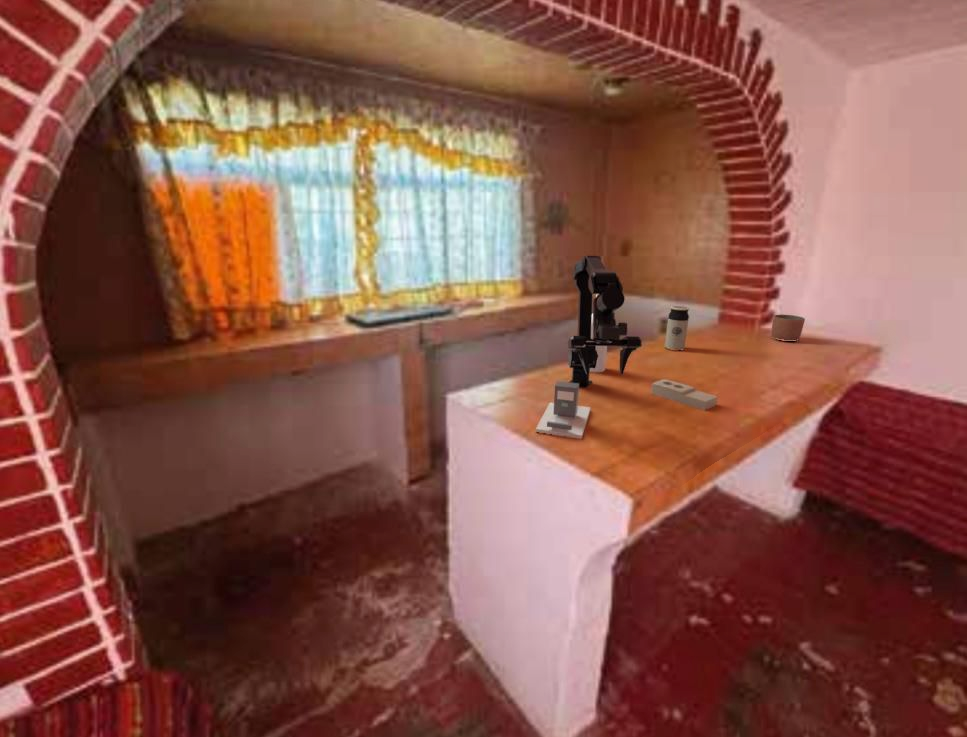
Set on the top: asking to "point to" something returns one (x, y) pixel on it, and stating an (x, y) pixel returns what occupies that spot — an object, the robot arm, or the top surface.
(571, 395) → the plate
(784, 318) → the planter
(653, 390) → the grey stepped block
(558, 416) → the rail plate
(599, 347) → the bottle
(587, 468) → the top surface
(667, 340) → the travel mug
